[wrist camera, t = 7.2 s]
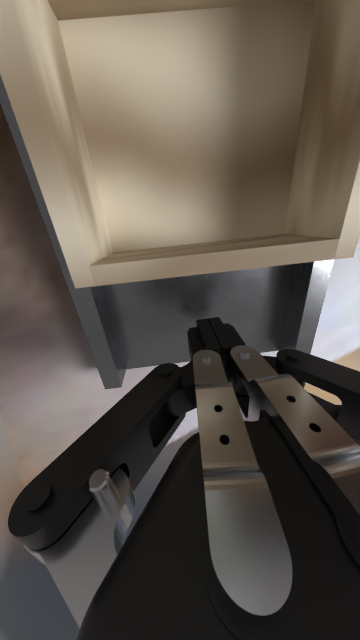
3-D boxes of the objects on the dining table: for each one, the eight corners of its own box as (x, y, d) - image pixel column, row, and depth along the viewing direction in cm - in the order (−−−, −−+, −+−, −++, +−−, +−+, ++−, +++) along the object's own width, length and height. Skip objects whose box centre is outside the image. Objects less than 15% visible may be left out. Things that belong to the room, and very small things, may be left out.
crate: (39, 8, 8) (-118, -263, 3) (325, -14, 8) (514, -290, 4) (106, 265, 12) (75, 288, 8) (287, 245, 12) (353, 257, 8)
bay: (-30, -77, 7) (-158, -276, 4) (375, -104, 8) (505, -305, 5) (112, 367, 17) (102, 397, 14) (289, 346, 17) (314, 370, 14)
